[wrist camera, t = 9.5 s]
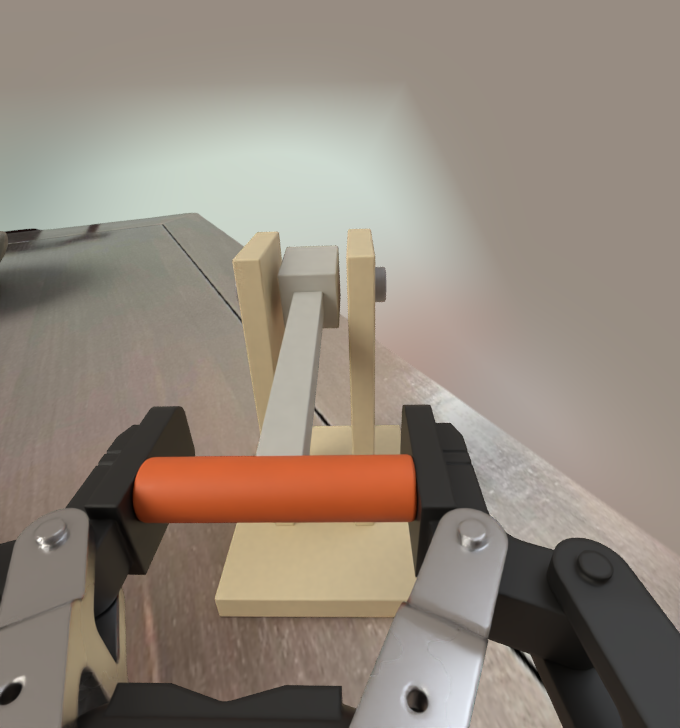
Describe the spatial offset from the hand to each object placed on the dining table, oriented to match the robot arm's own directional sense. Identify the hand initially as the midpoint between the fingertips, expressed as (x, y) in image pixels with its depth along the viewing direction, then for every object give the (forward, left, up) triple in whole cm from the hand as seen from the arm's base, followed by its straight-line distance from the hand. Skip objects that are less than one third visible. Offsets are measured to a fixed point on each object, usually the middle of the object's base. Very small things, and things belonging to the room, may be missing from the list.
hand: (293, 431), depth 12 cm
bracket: (0, -7, -11) cm, 13 cm away
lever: (0, -3, 0) cm, 3 cm away
